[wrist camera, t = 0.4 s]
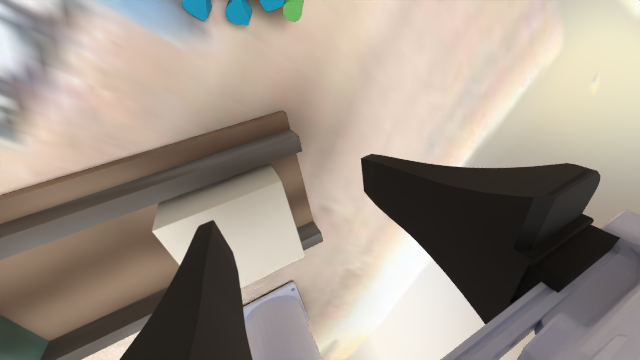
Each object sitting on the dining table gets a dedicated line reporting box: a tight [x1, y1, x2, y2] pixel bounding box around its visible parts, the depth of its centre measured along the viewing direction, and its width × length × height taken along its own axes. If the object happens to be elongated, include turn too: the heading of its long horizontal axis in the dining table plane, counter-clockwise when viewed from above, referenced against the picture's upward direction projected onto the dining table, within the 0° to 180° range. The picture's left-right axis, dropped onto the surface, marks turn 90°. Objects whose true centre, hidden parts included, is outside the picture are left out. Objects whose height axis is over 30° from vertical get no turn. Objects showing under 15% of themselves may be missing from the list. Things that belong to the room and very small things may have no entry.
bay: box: [0, 111, 323, 360], centre depth 17 cm, size 14×24×5 cm, turn 100°
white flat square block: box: [152, 163, 305, 288], centre depth 18 cm, size 8×8×4 cm
